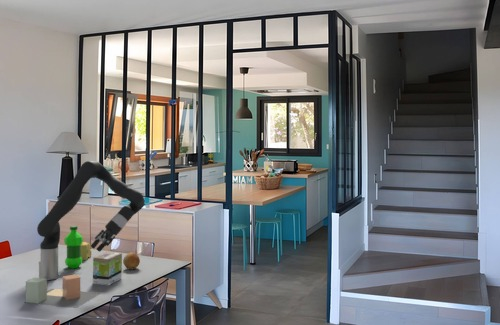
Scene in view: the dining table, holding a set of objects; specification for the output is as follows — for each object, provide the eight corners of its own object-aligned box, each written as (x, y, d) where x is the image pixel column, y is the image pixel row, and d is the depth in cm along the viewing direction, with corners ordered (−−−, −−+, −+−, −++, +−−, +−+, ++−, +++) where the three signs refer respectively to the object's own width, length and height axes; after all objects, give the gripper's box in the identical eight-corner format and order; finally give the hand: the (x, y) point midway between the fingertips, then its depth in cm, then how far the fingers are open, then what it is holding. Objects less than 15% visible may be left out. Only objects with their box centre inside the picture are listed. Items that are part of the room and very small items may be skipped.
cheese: (91, 256, 327) (91, 241, 326) (86, 260, 316) (86, 245, 316) (75, 256, 327) (75, 241, 326) (70, 260, 316) (70, 245, 315)
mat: (23, 303, 234) (23, 302, 234) (52, 289, 255) (52, 288, 255) (76, 309, 228) (76, 307, 228) (101, 294, 249) (101, 293, 249)
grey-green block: (25, 302, 234) (25, 281, 234) (34, 297, 241) (34, 277, 240) (38, 303, 233) (38, 282, 232) (46, 298, 239) (46, 278, 239)
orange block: (66, 300, 238) (66, 279, 238) (62, 296, 243) (62, 276, 243) (80, 297, 242) (80, 277, 242) (76, 294, 247) (76, 274, 247)
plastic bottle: (86, 266, 301) (86, 226, 300) (71, 270, 292) (71, 228, 291) (75, 264, 306) (75, 224, 305) (61, 267, 297) (60, 226, 296)
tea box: (109, 286, 263) (109, 258, 262) (92, 284, 265) (92, 257, 264) (122, 278, 278) (122, 252, 277) (105, 277, 280) (105, 251, 279)
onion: (119, 270, 294) (119, 253, 294) (128, 266, 304) (128, 250, 303) (134, 271, 291) (134, 255, 291) (142, 267, 301) (142, 251, 300)
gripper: (106, 217, 259) (84, 242, 253) (117, 221, 248) (94, 247, 241) (116, 226, 262) (95, 250, 256) (127, 230, 251) (105, 256, 245)
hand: (94, 249), depth 249 cm, fingers open, 8 cm apart
